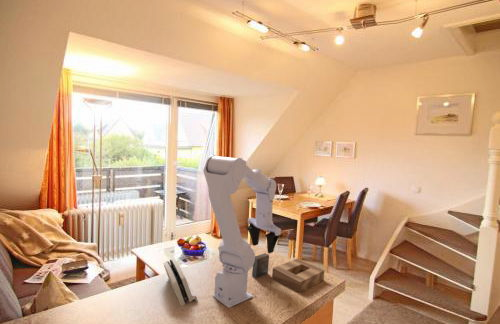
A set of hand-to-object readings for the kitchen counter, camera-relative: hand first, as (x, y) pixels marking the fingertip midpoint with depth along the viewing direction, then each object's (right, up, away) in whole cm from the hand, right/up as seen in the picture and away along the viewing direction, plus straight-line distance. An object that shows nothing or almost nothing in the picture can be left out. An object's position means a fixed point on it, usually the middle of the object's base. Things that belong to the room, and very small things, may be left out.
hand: (262, 248), depth 98 cm
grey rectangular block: (-1, -10, +1) cm, 10 cm away
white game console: (-27, -9, -13) cm, 31 cm away
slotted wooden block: (+12, -11, -1) cm, 16 cm away
